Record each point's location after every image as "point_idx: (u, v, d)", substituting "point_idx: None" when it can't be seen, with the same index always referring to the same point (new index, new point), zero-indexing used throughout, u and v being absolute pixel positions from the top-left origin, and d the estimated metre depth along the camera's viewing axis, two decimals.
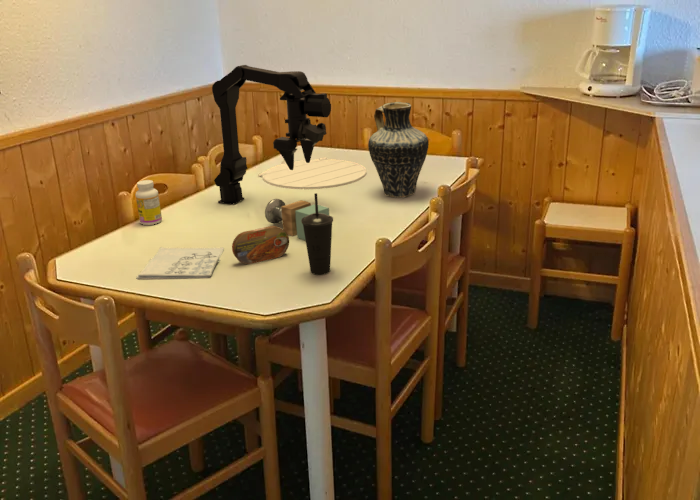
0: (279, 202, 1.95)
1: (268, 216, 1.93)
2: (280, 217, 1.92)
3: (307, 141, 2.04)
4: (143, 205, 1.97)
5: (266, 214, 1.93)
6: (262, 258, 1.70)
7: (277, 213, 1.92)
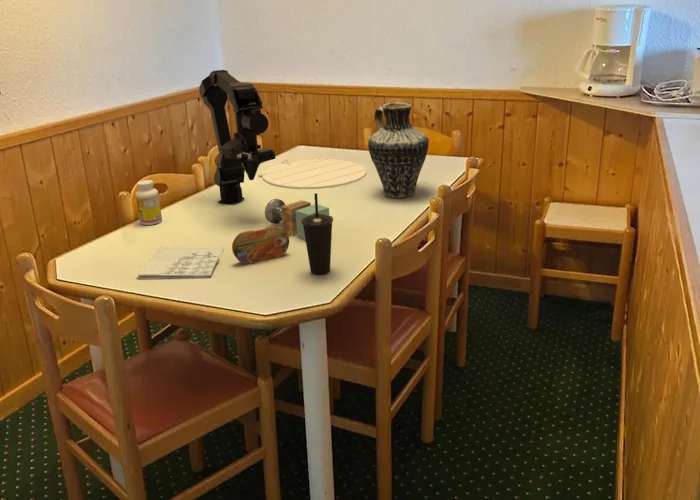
0: (279, 202, 1.95)
1: (268, 216, 1.93)
2: (280, 217, 1.92)
3: None
4: (143, 205, 1.97)
5: (266, 214, 1.93)
6: (262, 258, 1.70)
7: (277, 213, 1.92)
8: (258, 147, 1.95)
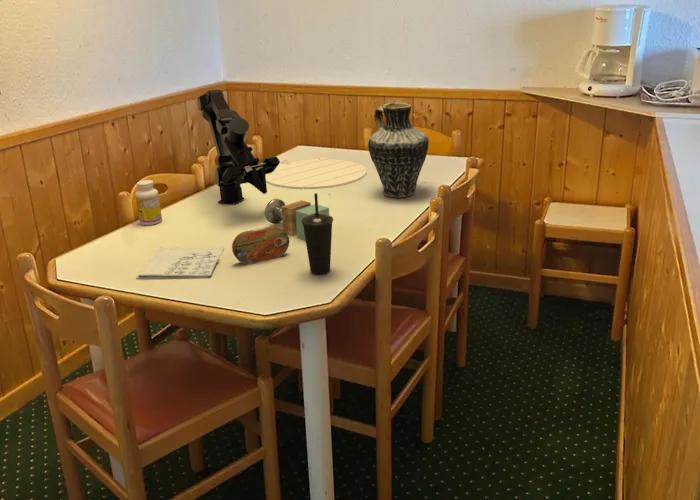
0: (279, 202, 1.95)
1: (268, 216, 1.93)
2: (280, 217, 1.92)
3: None
4: (143, 205, 1.97)
5: (266, 214, 1.93)
6: (262, 258, 1.70)
7: (277, 213, 1.92)
8: (245, 164, 1.95)
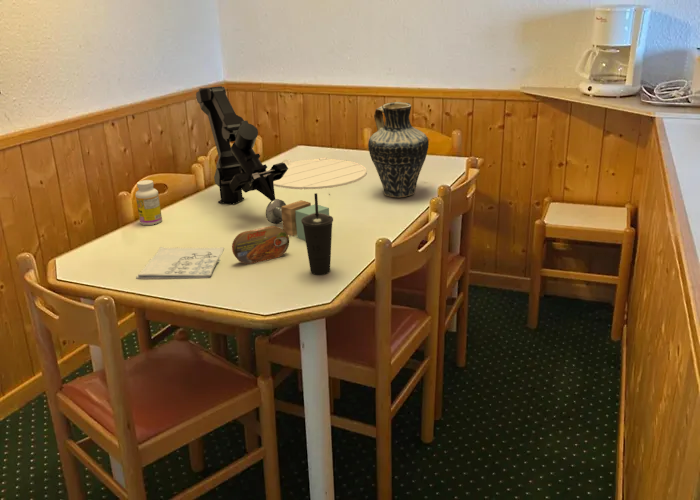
0: (280, 202, 1.94)
1: (269, 216, 1.93)
2: (281, 217, 1.91)
3: None
4: (143, 205, 1.97)
5: (267, 214, 1.92)
6: (262, 258, 1.70)
7: (278, 214, 1.92)
8: (252, 171, 1.93)
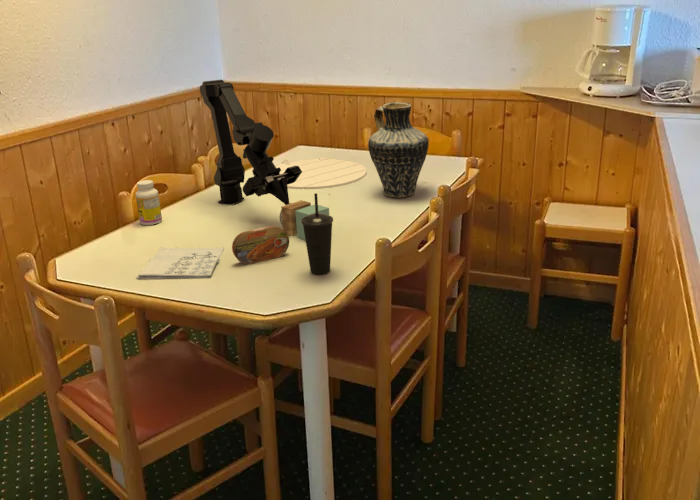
0: None
1: None
2: None
3: None
4: (143, 205, 1.97)
5: (281, 219, 1.88)
6: (262, 258, 1.70)
7: None
8: (266, 174, 1.89)
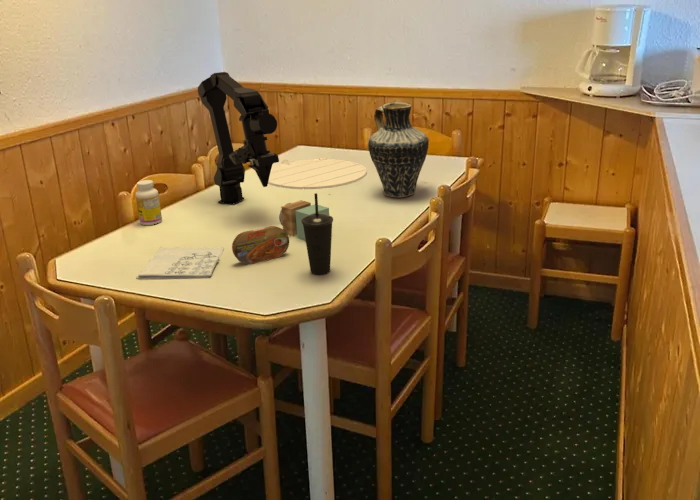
0: None
1: (282, 221, 1.89)
2: None
3: None
4: (143, 205, 1.97)
5: (280, 219, 1.88)
6: (262, 258, 1.70)
7: None
8: (267, 153, 1.94)
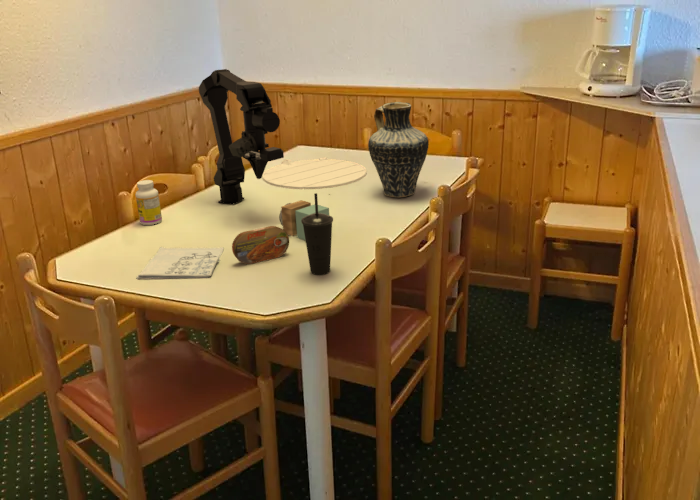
0: None
1: (282, 221, 1.89)
2: None
3: None
4: (143, 205, 1.97)
5: (280, 219, 1.88)
6: (262, 258, 1.70)
7: None
8: (266, 146, 1.95)
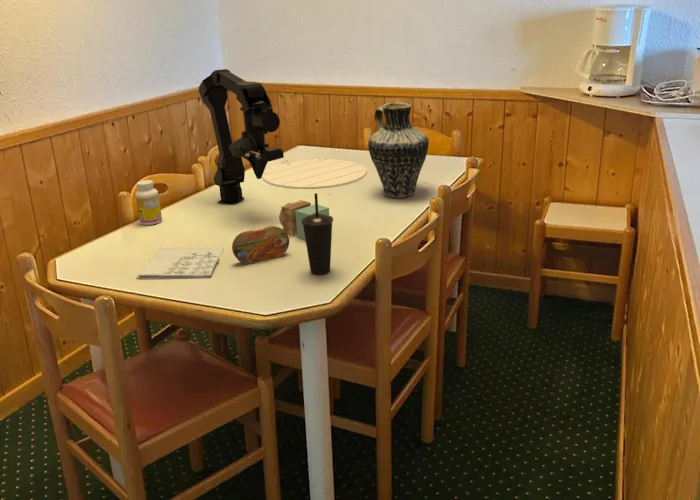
0: None
1: (282, 221, 1.89)
2: None
3: None
4: (143, 205, 1.97)
5: (280, 219, 1.88)
6: (262, 258, 1.70)
7: None
8: (266, 146, 1.95)
